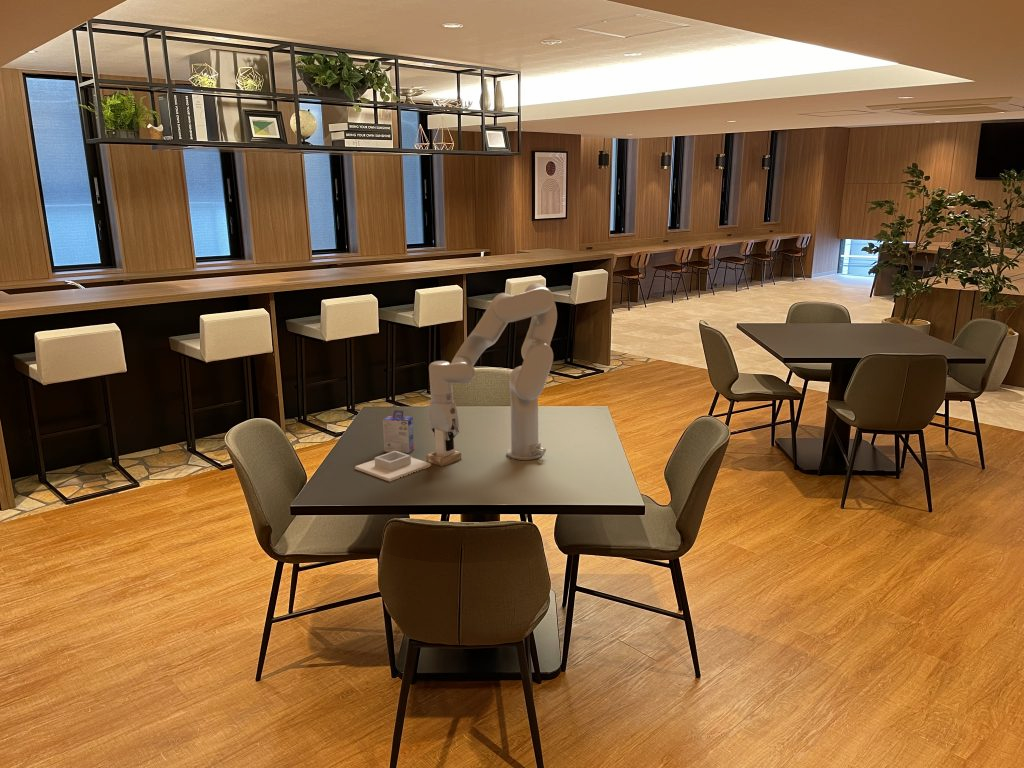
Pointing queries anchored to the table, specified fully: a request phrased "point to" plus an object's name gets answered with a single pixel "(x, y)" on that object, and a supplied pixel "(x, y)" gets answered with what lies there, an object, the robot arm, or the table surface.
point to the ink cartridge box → (398, 433)
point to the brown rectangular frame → (443, 461)
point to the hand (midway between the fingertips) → (445, 448)
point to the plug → (442, 444)
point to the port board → (392, 466)
